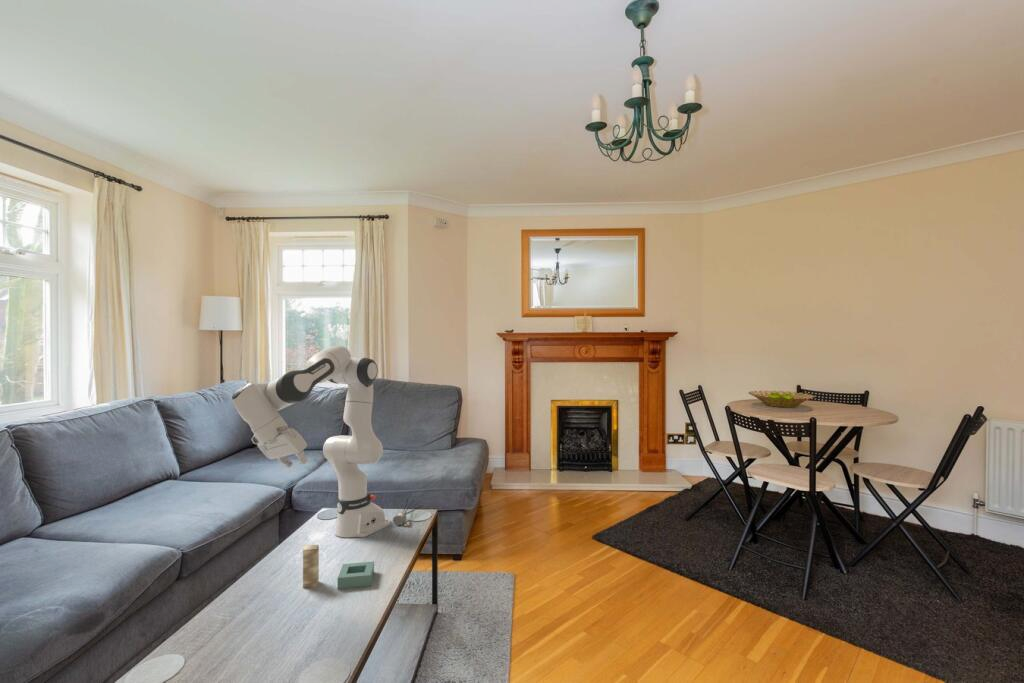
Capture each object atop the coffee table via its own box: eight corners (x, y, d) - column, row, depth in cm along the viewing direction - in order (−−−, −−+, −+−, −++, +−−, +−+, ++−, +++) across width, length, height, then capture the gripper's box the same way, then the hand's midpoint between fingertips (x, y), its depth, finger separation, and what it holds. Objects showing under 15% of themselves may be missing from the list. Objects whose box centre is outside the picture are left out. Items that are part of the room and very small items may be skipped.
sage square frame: (337, 589, 140) (337, 578, 140) (342, 574, 149) (342, 564, 149) (370, 585, 142) (370, 575, 142) (373, 571, 151) (373, 561, 151)
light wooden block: (302, 587, 141) (303, 549, 141) (305, 582, 144) (305, 545, 144) (316, 586, 142) (316, 548, 142) (318, 581, 145) (318, 544, 145)
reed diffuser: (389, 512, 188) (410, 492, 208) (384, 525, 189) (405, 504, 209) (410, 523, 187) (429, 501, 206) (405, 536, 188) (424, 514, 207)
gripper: (296, 418, 137) (321, 454, 140) (265, 429, 148) (289, 461, 152) (279, 431, 132) (306, 467, 135) (248, 441, 143) (274, 474, 147)
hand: (297, 464), depth 143 cm, fingers open, 8 cm apart
